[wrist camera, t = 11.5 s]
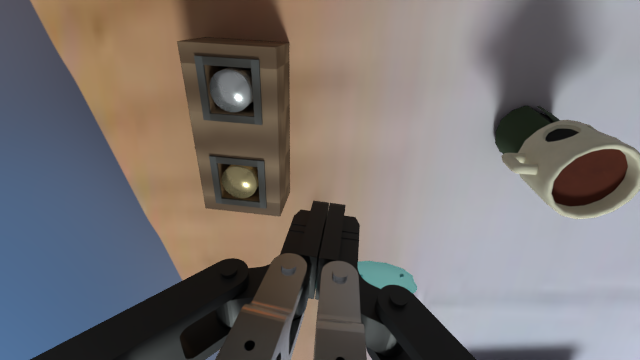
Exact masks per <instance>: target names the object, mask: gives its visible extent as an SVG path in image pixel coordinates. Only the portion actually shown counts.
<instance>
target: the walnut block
mask: <svg viewBox="0 0 640 360" xmlns="http://www.w3.org/2000/svg"><path fill="white" fill-rule="evenodd" d="M177 44H178V49H179V55H180V61H181V67H182V73H183V79H184V84H185V90H186V96H187V102H188V108H189V114H190V119H191V125H192V131H193V137H194V143H195V149H196V155H197V160H198V166H199V172H200V178H201V184H202V190H203V195H204V201H205V207H206V208H209V209H218V210H227V211H236V212H245V213H254V214H263V215H272V216H281V213H282V211H283V208H284V206H285V203H286V201H287V198H288V196H289V193H290V108H289V42H273V41H256V40H240V39H224V38H208V37H204V38H197V39H190V40H183V41H177ZM228 67H241V68H251V73H252V88H253V102H252V103H251V104H250V105H248V106H247V107H246V108H245V109H243V110H242V111H239V112H228V111H225V110H223V109H222V108H220V107H219V106H218V105H217V104H216V103H215V102H214V100H213V99H212V96H211V93H210V81H211V79H212V77H213V75H214V74H215V73H217V72H218V71H220V70H223V69H225V68H228ZM230 165H241V166H251V167H258V183H259V186H258V188H257V189H256V191H255V193H254V194H253V195H252V196H250V197H248V198H237V197H234V196H232V195H231V194H229V193H228V192H227V191H226V190H225V188H224V187H223V184H222V175H223V173H224V171H225V170H226V169H227V168H228V167H229V166H230Z"/></svg>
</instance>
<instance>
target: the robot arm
mask: <svg viewBox="0 0 640 360" xmlns="http://www.w3.org/2000/svg"><path fill="white" fill-rule="evenodd" d="M328 209H329V211H328ZM344 212H345V205H342V204H335V203H330V206H329V203H327V202H320V201H313V204H312V207H311V211H307V210H300V211H299V212H298V213H297V214H296V215H294V217H293V220H292V223H291V226H290V228H289V231H288V234H287V237H286V239H285V242H284V245H283V248H282V251H281V253H280V255H279V256H277V257H276V258H274V259H273V261H272V262H271V264H269V265H267V266H263V267H256V268H248V266H247V264H246V263H245V262H244V261H242V260H239V259H234V258H231V259H225V260H222V261H220V262H218V263H216V264H214V265H212V266H210V267H208V268H206V269H204V270H202V271H200V272H199V273H197V274H195V275H193V276H191V277H189V278H187V279H185V280H183V281H181V282H179V283H177V284H175V285H173V286H171V287H170V288H168V289H166V290H164V291H162V292H160V293H158V294H156V295H154V296H152V297H150V298H148V299H146V300H145V301H143V302H141V303H139V304H137V305H135V306H133V307H131V308H129V309H127V310H125V311H123V312H121V313H119V314H117V315H115V316H114V317H112V318H110V319H108V320H106V321H104V322H102V323H100V324H98V325H96V326H94V327H92V328H90V329H88V330H87V331H84V332H83V333H81V334H79V335H77V336H75V337H73V338H71V339H69V340H67V341H65V342H63V343H61V344H59V345H57V346H56V347H54V348H52V349H50V350H48V351H46V352H44V353H42V354H40V355H38V356H36V357H34V358H32V359H30V360H205V359H207V358H208V357H210V356H211V355H212V354H214V353H215V352H217V351H218V350H219V349H220V351H219V353H218V355H217V357H216V359H215V360H291V357H292V354H293V350H294V347H295V344H296V340H297V337H298V334H299V330H300V327H301V324H302V320H303V317H304V311H305V309H306V305H307V301H308V298H311V299H314V294H315V289H316V296H315V299H317V300H319V302H318V312H317V322H316V334H315V346H314V357H313V360H367V357H366V348H367V351H368V354H369V355H370V357H371V358H372V360H476V359H475V358H474V357H473V356H472V355H471V354H470V353H469V352H468V351H467V349H466V348H465V347H464V346H463V345H462V344H461V343H460V342H459V341H458V340H457V339H456V338H455V337H454V336H453V335H452V334H451V333H450V332H449V331H448V330H447V329H446V328H445V327H444V326H443V325H442V324H441V322H440V321H439V320H438V319H437V318H436V317H435V316H434V315H433V314H432V313H431V312H430V311H429V310H428V309H427V308H426V307H425V306H424V305H423V304H422V303H421V302H420V301H419V300H418V299H417V298H416V297H415V296H414V294H413V293H411V292H410V291H409V290H408V289H406V288H404V287H402V286H399V285H387V286H384V287H383V288H381V289H380V288H378V287H376V286H373V285H371V284H369V283H368V282H366V281H365V280H364V279H363V278H362V277H361V275H360V274H359V271H358V247H359V227H360V225H359V223H358V221H357V219H356V218H355V217H350V216H344ZM316 284H317V285H316Z"/></svg>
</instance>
